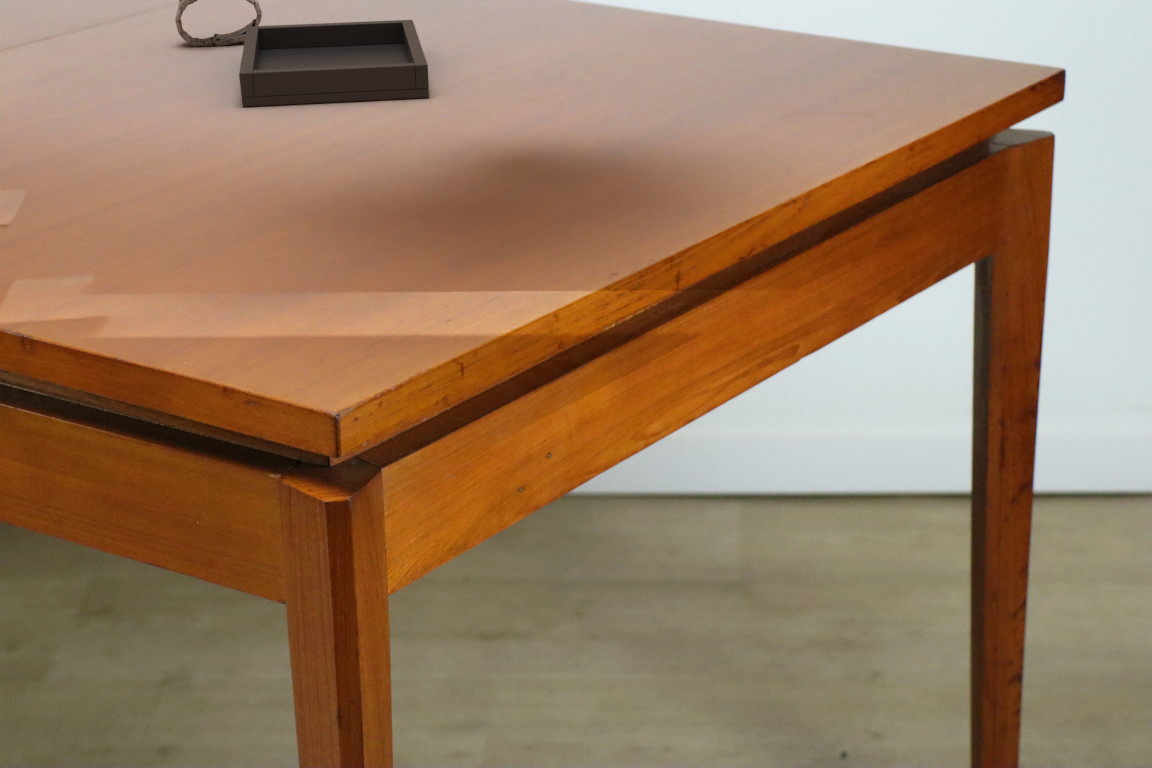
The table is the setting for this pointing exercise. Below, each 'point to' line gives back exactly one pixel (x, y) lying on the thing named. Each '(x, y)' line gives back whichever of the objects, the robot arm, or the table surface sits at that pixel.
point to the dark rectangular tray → (332, 63)
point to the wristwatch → (218, 38)
